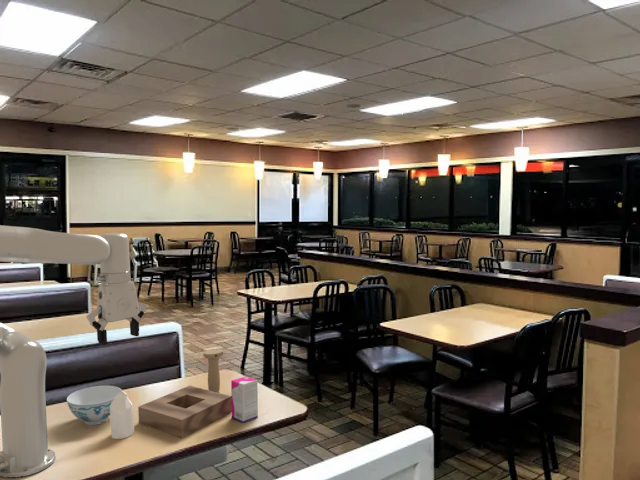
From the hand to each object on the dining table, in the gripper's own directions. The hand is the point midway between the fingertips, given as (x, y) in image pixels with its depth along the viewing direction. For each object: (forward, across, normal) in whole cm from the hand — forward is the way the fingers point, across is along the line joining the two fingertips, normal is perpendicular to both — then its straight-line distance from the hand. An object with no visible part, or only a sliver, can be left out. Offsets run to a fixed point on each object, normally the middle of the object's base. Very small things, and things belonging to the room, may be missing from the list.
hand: (119, 339), depth 140 cm
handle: (+27, +33, 0) cm, 43 cm away
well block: (+27, +16, -7) cm, 32 cm away
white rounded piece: (+27, -1, -1) cm, 27 cm away
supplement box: (+27, +26, -21) cm, 43 cm away
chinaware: (+27, 0, +14) cm, 30 cm away
